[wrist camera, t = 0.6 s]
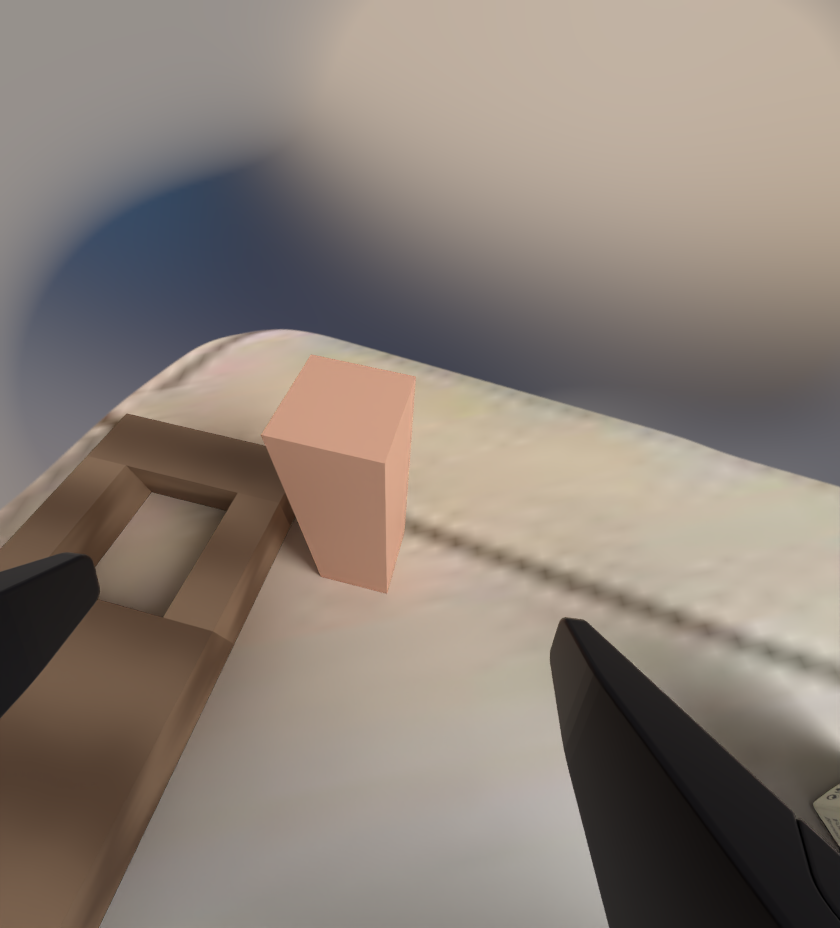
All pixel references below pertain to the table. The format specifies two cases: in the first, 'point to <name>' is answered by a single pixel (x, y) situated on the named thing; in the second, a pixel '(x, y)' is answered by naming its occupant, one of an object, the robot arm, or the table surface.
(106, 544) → the wooden peg hole board
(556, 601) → the table surface
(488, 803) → the table surface
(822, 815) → the skincare box
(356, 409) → the terracotta peg block
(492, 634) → the table surface
